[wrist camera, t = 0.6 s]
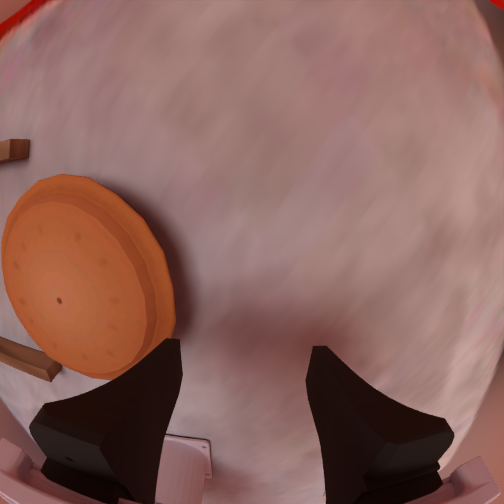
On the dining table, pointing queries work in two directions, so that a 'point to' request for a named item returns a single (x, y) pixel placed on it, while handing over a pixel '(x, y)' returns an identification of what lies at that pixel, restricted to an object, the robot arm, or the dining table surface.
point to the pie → (86, 276)
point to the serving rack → (7, 349)
